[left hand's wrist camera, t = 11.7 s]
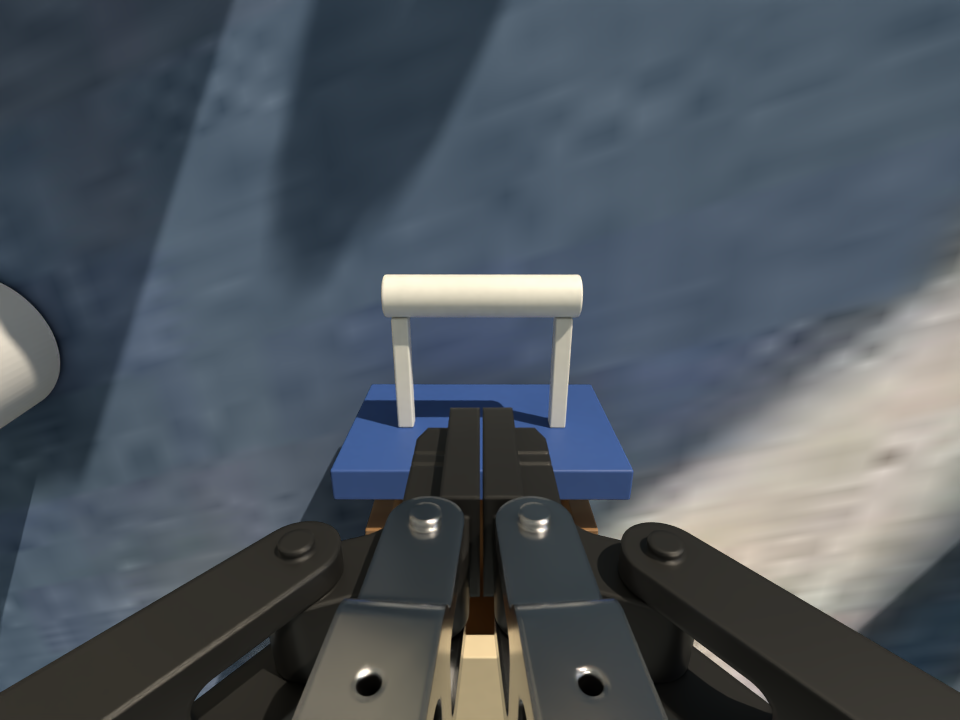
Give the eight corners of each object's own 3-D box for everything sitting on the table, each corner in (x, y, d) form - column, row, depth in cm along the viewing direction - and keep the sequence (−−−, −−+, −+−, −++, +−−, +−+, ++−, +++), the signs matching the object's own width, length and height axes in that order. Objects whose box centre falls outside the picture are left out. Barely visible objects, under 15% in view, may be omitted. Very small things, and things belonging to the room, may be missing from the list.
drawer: (360, 255, 21) (307, 297, 15) (602, 255, 21) (657, 298, 15) (394, 655, 30) (370, 794, 23) (566, 655, 30) (591, 795, 23)
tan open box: (374, 502, 27) (326, 657, 19) (587, 503, 27) (636, 657, 19) (395, 735, 34) (367, 924, 25) (565, 735, 34) (593, 924, 25)
